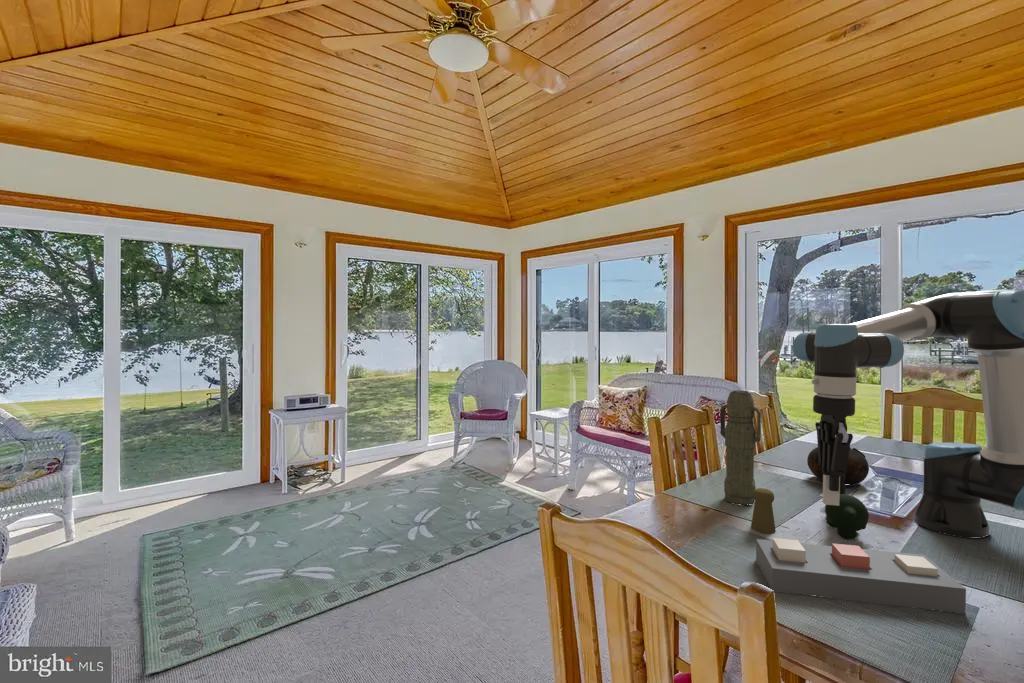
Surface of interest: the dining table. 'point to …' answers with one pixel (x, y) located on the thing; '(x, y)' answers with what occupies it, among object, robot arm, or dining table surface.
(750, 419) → the thermos
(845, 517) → the toy figurine
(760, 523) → the cork
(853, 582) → the key panel
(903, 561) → the near key
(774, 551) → the far key
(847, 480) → the glass bottle
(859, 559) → the middle key
